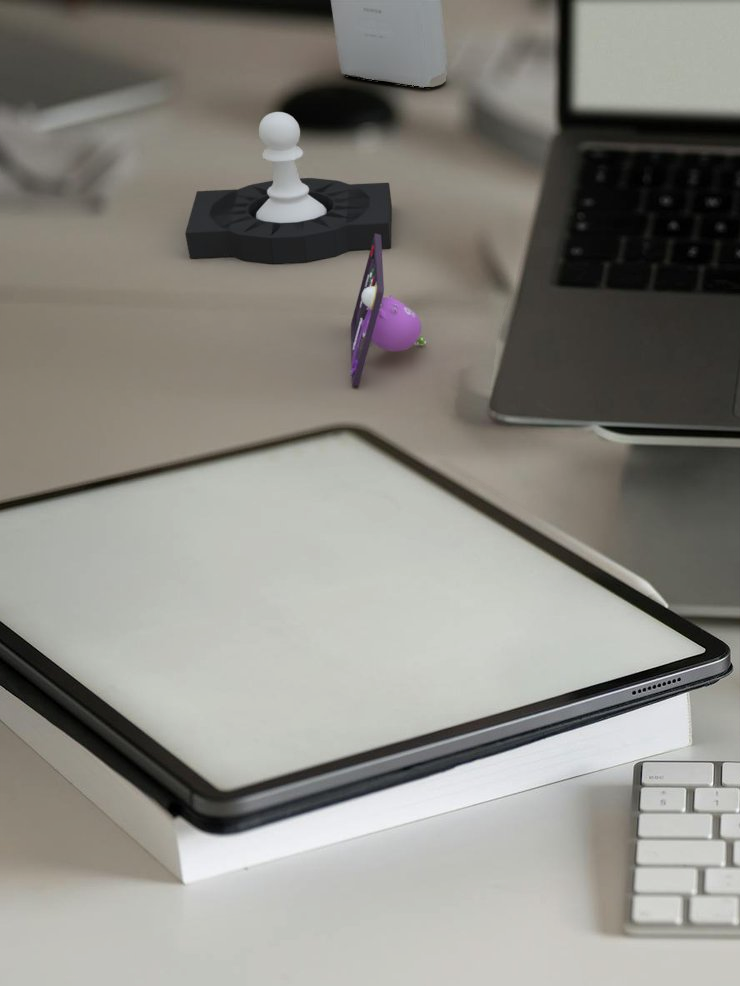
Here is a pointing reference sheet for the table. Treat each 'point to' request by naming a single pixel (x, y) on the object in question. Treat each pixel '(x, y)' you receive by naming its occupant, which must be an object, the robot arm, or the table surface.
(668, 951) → the table surface
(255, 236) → the socket pad
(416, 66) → the photo printer
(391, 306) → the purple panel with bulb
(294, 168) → the chess pawn
